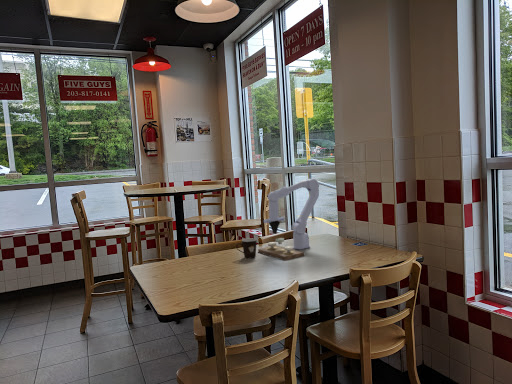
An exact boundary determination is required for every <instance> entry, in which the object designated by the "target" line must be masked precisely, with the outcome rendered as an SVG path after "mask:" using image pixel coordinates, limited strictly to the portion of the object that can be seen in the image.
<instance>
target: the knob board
mask: <svg viewBox="0 0 512 384" xmlns="http://www.w3.org/2000/svg"><path fill="white" fill-rule="evenodd" d="M284 247H285V246H280V245H277V244H276V246H274V248H271V246H267V247H262V248H258V249H257V251H258V253H260V254H263V255H265V256H270V257H273V258H276V259H280V260H283V261H288V260H292V259H295V258H296V257H297V258H300V256H301V257H304V256H305V251H301V250H298V249H293V250H291V252H290V253H287V251H286V250H284Z"/></svg>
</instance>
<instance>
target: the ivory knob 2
mask: <svg viewBox="0 0 512 384" xmlns="http://www.w3.org/2000/svg"><path fill="white" fill-rule="evenodd" d="M283 247H284V250H286V251H287V253H290V252H291V250H294V248H293V245H290V246H289V245H287V246H286V245H285V246H283Z"/></svg>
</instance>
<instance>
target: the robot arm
mask: <svg viewBox="0 0 512 384" xmlns="http://www.w3.org/2000/svg"><path fill="white" fill-rule="evenodd" d="M319 187H320V184H319V182H318V181H317V179H315V178H307V179H303V180H300V181H298V182H297V183H294V184H292V185H290V186H281V187H280V188H279V189H275V190H274V191H270V192H269V193H268V195H267V199H268V211H269V212H268V213H269V214H268V215H269V218H266V219H263V224H268V225H270V228H271V231H272V234H275V235H276V234H277V233H278V229H279V226H280V224H281V221H285V217H283V216H281V217H280V215H279V200H280V199H283V198H285V197H287V196H289V195H290V193H291V192H294V191H296V190H298V189H302V188H303V189H304V188H305V189H306V190H307V191H308V194H309V196H308V197H307V200H306V202H305V204H304V206H303V208H302V210H301V213H300V214H299V217H298V218H296V220H295V222H293V223H292V225H291V230H292V231H293V232H292V235H293V236H292V237H293V238H292V239H293V245H292V247H293V250H297V251H300V250H304V249H308V248H311V246H310V236H309V234H308V233H307V232H306V229H307V224H308V223H307V221H308V219H309V217H310V215H311V213H312V211H313V209H314V206H315V205H316V203H317V200H318V199H319V196H320V190H319V189H320V188H319Z"/></svg>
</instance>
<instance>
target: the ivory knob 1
mask: <svg viewBox="0 0 512 384" xmlns="http://www.w3.org/2000/svg"><path fill="white" fill-rule="evenodd" d="M276 245H277V242H276V241H269V242H267V247H271V248H274V246H276Z"/></svg>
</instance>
